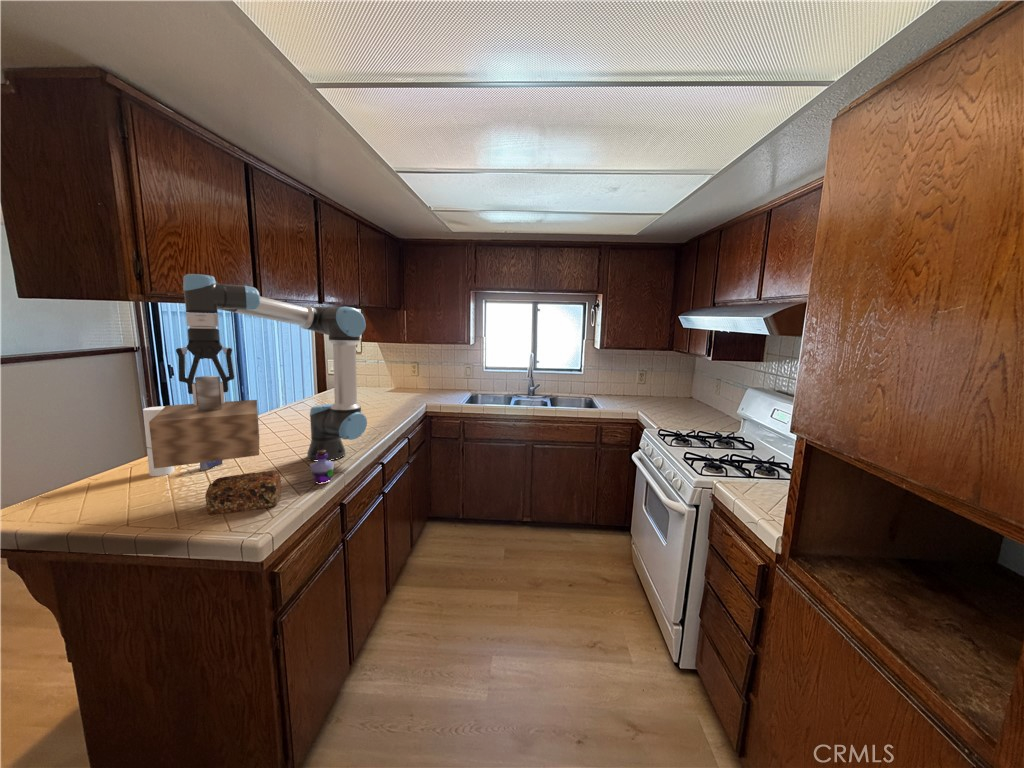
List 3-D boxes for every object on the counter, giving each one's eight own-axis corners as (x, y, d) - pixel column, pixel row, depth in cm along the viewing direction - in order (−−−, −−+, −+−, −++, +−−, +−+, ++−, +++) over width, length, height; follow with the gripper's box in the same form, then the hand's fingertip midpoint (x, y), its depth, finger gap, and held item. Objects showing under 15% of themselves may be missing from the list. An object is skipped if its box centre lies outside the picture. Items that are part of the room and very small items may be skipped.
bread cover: (259, 435, 141) (254, 371, 138) (259, 455, 121) (254, 380, 118) (170, 445, 129) (163, 374, 125) (154, 468, 108) (145, 385, 105)
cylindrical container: (175, 468, 156) (169, 405, 152) (173, 474, 150) (167, 409, 147) (150, 471, 152) (144, 407, 148) (148, 477, 146) (141, 411, 143)
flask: (204, 471, 154) (201, 444, 152) (197, 471, 154) (195, 444, 153) (224, 463, 163) (222, 438, 161) (218, 463, 163) (216, 437, 162)
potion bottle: (330, 486, 143) (329, 454, 142) (305, 486, 143) (304, 454, 141) (339, 477, 152) (338, 447, 150) (315, 477, 151) (314, 446, 150)
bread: (282, 495, 135) (281, 466, 134) (276, 508, 126) (275, 478, 124) (216, 502, 129) (214, 472, 127) (205, 517, 119) (202, 485, 117)
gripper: (159, 327, 111) (167, 408, 115) (241, 328, 121) (246, 403, 125) (164, 326, 118) (172, 403, 121) (241, 328, 128) (246, 399, 131)
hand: (209, 403), depth 123 cm, fingers closed on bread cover, 6 cm apart
